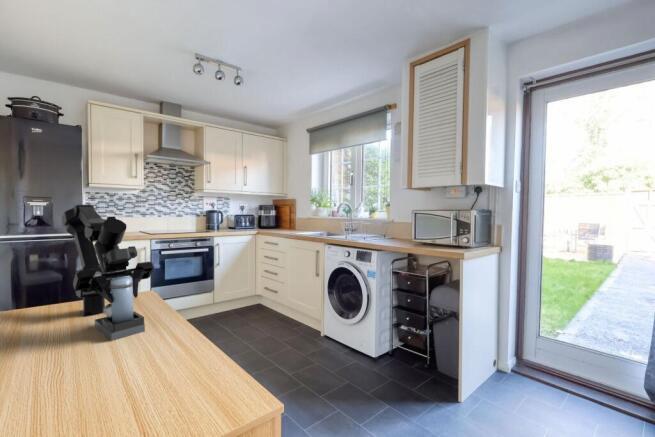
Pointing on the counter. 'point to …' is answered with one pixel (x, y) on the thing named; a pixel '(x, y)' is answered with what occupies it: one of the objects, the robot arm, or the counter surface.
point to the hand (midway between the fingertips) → (124, 299)
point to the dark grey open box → (119, 325)
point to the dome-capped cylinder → (122, 299)
